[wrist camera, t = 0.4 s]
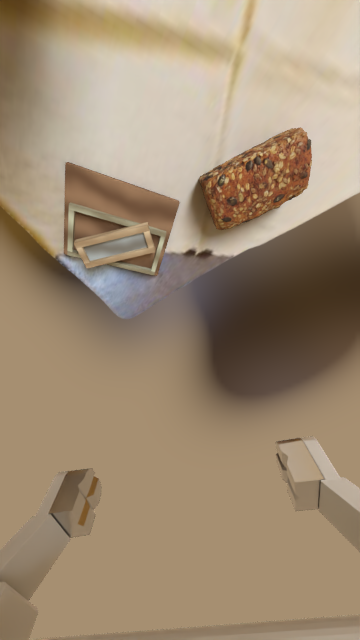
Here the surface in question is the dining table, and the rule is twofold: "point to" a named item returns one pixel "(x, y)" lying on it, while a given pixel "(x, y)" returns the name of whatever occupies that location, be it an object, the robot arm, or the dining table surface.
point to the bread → (258, 179)
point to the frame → (115, 245)
